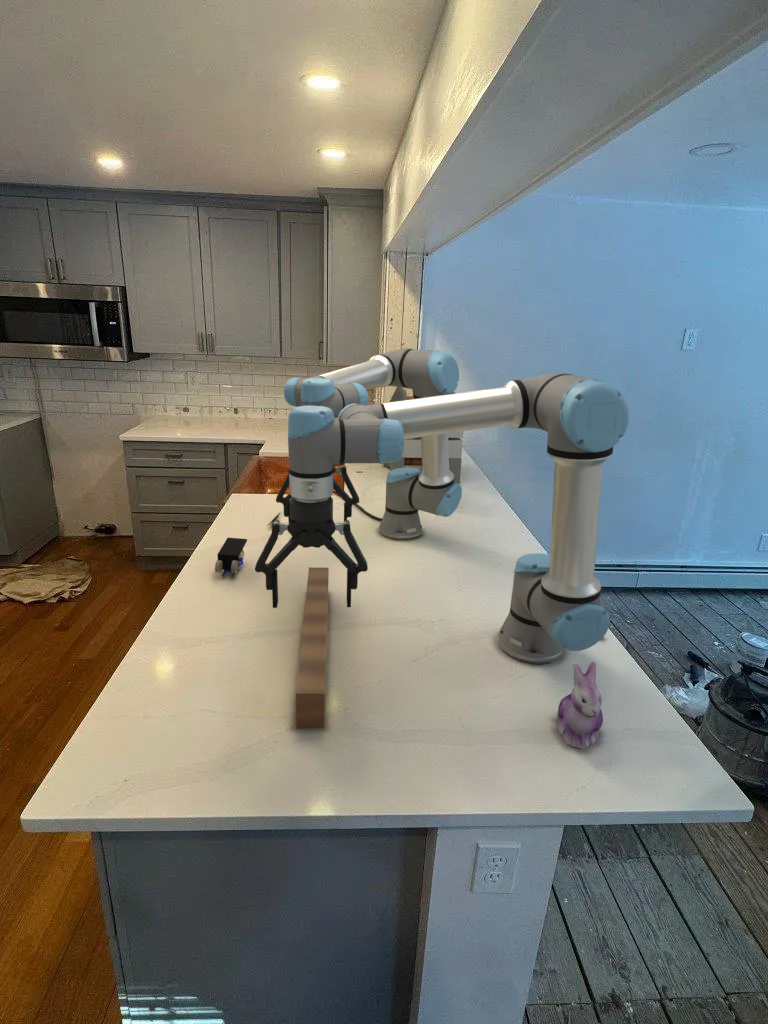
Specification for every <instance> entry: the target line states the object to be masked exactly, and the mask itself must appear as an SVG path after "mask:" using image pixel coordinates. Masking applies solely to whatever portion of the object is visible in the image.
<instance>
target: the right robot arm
mask: <svg viewBox="0 0 768 1024" xmlns="http://www.w3.org/2000/svg"><path fill="white" fill-rule="evenodd" d="M629 421H630V411H629V406H628V403H627V400H626V398H625V397H624V395H623V393H621V391H619V390H618V389H617V388H616V387H615V386H613V385H611V384H608V383H606V382H604V381H602V380H599V379H596V378H590V377H585V376H584V377H583V376H580V375H579V376H578V375H576V374H575V375H574V374H571V373H566V372H555V373H549V374H548V373H547V374H542V375H536V376H530V377H526V378H525V377H524V378H520V379H513V380H508V381H507V382H506V383H505V384H504V385H503V386H500V387H493V388H486V389H479V390H470V391H463V392H455V394H448V395H440V396H433V397H425V398H418V399H411V400H403V401H396V402H383V403H375V404H368V405H366V406H365V405H363V404H357V403H354V404H350V405H347V406H346V407H344V408H343V409H342V410H341V412H340V413H339V416H338V417H337V418H334V416H333V411H332V409H330V408H328V407H324V406H299V407H293V408H292V409H291V410H290V411H289V413H288V422H287V423H288V424H287V448H288V449H287V450H288V473H289V486H288V488H289V491H288V492H289V493H290V495H291V496H292V497H291V498H290V522H289V523H288V522H281V521H280V520H279V519H276V520H275V521H274V522H273V526H272V525H271V526H272V528H271V532H270V536H269V538H268V540H267V541H266V543H265V545H264V546H263V549H262V551H261V553H260V554H259V557H258V559H257V561H256V563H255V567H254V571H255V572H256V573H263V574H264V576H265V589H266V591H271V594H272V595H271V596H272V597H271V598H272V609H278V605H279V578H278V576H279V575H278V567H280V565H282V563H284V561H285V560H286V559H287V558H288V557H289V556H290V555H291V553H292V552H293V551H295V550H296V549H297V548H298V546H300V547H302V548H304V549H305V548H306V549H307V548H312V547H313V548H316V549H317V548H319V549H320V548H321V547H323V546H324V547H325V548H326V549H327V550H328V551H330V552H331V554H333V555H334V557H336V559H337V560H338V561H340V563H341V564H342V565H343V566H344V567H345V568H346V569H347V570H346V608H352V590H357V589H358V579H359V578H358V577H359V573H362V572H364V573H365V572H368V569H369V567H368V561H367V559H366V558H365V556H364V553H363V552H362V549H361V548H360V546H359V544H358V542H357V540H356V539H355V536H354V535H353V532H352V530H351V522H350V520H348V519H347V520H345V521H344V520H343V522H335V521H334V498H333V497H332V496H333V494H334V493H333V491H334V489H333V478H334V474H333V464H334V465H335V464H342V465H343V464H380V465H384V464H383V463H392V462H398V461H399V460H400V459H401V457H402V455H403V450H404V439H411V438H418V437H425V436H432V435H439V434H446V433H454V432H461V431H464V432H467V431H474V430H480V429H488V428H495V427H502V426H508V427H510V428H511V429H512V430H516V429H524V428H525V429H526V428H527V429H530V428H531V429H537V430H541V431H544V432H547V441H546V454H547V455H548V456H549V457H550V458H551V459H552V460H553V462H554V469H553V493H552V508H551V509H552V510H551V511H552V512H551V534H550V551H549V553H550V554H549V553H537V552H536V553H527V554H523V555H521V556H520V557H518V558H517V560H516V562H515V563H516V564H515V568H514V570H513V581H512V590H511V598H510V607H509V612H508V614H507V616H506V618H505V620H504V622H503V623H502V626H501V627H500V629H499V632H498V635H497V638H498V639H497V643H498V646H499V648H500V649H501V650H502V651H503V653H505V654H506V655H509V656H510V657H511V658H513V659H516V660H518V661H520V662H524V663H529V664H534V665H535V664H536V665H537V664H538V665H543V664H544V665H545V664H551V663H554V662H556V661H558V660H560V659H561V658H562V657H563V654H564V650H565V651H569V652H580V651H585V650H587V649H590V648H592V647H593V646H595V645H596V644H597V643H598V642H600V641H602V639H604V638H605V635H606V634H607V632H608V630H609V627H610V622H611V619H610V616H609V614H608V612H607V610H606V608H605V607H604V606H602V605H601V594H602V583H601V581H600V579H598V577H596V576H595V569H596V557H597V555H596V554H597V544H598V543H597V542H598V530H599V518H600V517H599V516H600V507H601V493H602V481H603V468H604V463H605V462H606V461H607V460H609V459H610V458H611V457H613V453H614V447H615V446H616V445H617V444H618V443H619V442H620V438H622V437H624V436H625V434H626V432H627V430H628V426H629ZM289 493H288V494H289ZM286 531H287V532H288V533H289V534H290V536H291V537H290V538H289V540H288V541H287V542H286V543H285V544H284V546H283V547H282V548H281V549H280V550H278V552H277V553H276V555H274V556H273V558H272V559H271V560H270V561H269V562H268V563H267V560H268V558H269V557H270V556H271V555H270V554H271V553H272V551H273V549H274V547H275V545H276V543H277V541H278V539H279V536H282V535H283V534H284V532H286ZM336 531H337V532H339V534H340V536H344V540H345V542H346V544H347V546H348V547H349V549H350V551H351V553H352V554H353V557H354V559H355V561H356V562H357V563H356V562H355V561H354V560H353V559H352V558H351V557H350V555H349V554H348V553H347V552H346V551H345V550H344V549H343V548H342V546H341V545H339V544H338V542H337V541H336V539H335V538H334V537H333V535H334V533H336Z"/></svg>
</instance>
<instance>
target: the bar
mask: <svg viewBox="0 0 768 1024" xmlns="http://www.w3.org/2000/svg"><path fill="white" fill-rule="evenodd" d="M329 571H330V569H329V567H325V566H324V567H315V566H313V567H311V566H309V567H308V572H307V581H306V592H305V601H304V610H303V620H302V631H301V639H300V648H299V649H300V650H299V657H298V659H299V660H298V668H297V676H296V677H297V678H296V687H295V688H296V689H295V729H324V728H325V726H326V695H327V694H326V693H327V657H328V654H327V653H328V620H329V619H328V618H329V582H330V581H329V580H330V579H329V575H330V573H329Z"/></svg>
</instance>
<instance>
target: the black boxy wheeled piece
mask: <svg viewBox="0 0 768 1024" xmlns="http://www.w3.org/2000/svg"><path fill="white" fill-rule="evenodd" d="M247 542H248V538H240V537H226V539H225V541H224V543H223V544H222V546H221V547H220V549H219V551H218V552H217V560H216V562H215V564H214V572H215V573H221V577H222V578H224V577H225V576H226V574H227V573H230V574H231V573H232V574H231V578H234V577H235V575H236V573H237V572H239V571H240V567H242V566H243V565H244V564H245V562H244V558H245V551H244V547H245V546H246V544H247Z"/></svg>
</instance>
